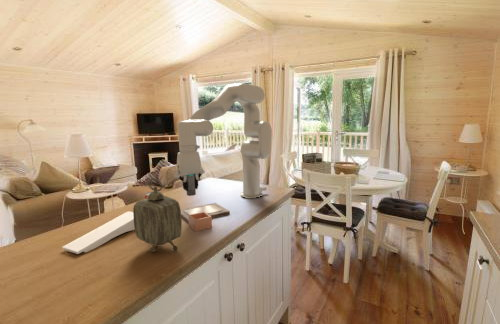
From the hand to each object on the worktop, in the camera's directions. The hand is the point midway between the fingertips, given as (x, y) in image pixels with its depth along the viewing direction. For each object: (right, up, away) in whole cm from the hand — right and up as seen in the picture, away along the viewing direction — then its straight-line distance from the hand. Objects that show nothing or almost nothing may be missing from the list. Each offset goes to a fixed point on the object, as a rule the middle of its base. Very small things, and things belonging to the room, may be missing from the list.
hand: (190, 188), depth 124 cm
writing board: (+5, -12, +5) cm, 14 cm away
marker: (0, -3, 0) cm, 3 cm away
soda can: (-16, -14, -1) cm, 21 cm away
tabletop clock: (-5, -18, -29) cm, 35 cm away
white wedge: (-28, -17, -19) cm, 38 cm away
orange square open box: (+6, -15, -10) cm, 18 cm away
